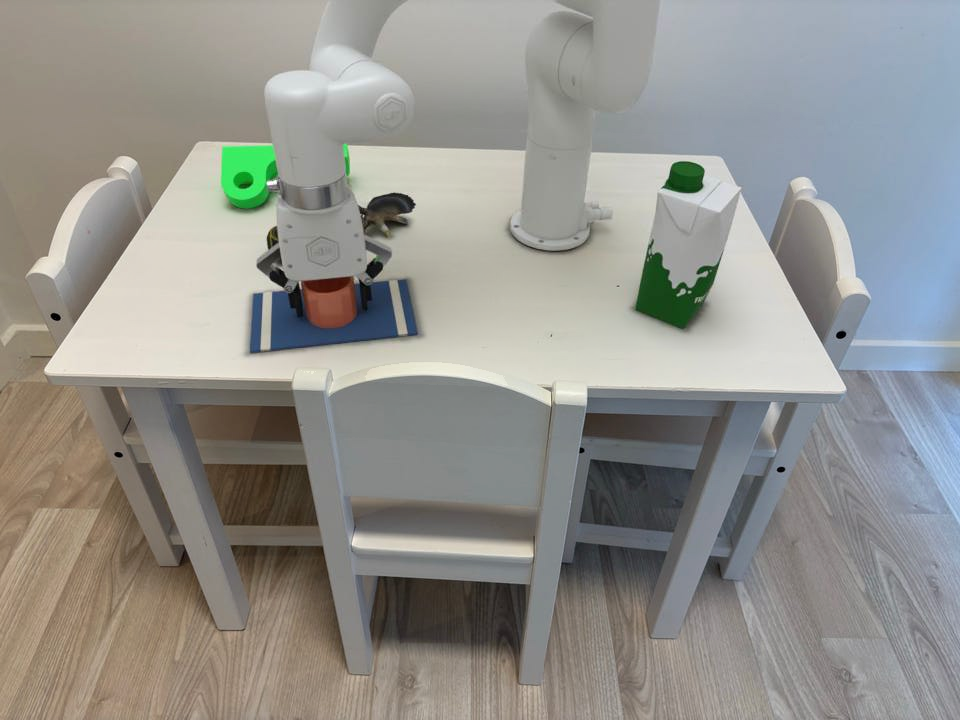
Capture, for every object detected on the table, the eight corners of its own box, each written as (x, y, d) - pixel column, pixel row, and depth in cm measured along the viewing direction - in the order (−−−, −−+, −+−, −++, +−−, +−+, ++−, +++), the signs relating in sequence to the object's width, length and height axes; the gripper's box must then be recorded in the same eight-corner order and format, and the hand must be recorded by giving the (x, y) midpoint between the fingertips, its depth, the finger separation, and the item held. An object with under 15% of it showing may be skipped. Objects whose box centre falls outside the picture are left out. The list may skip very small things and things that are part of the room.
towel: (406, 281, 98) (406, 278, 98) (417, 334, 89) (417, 332, 89) (253, 295, 94) (253, 293, 94) (250, 353, 86) (249, 350, 85)
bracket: (232, 222, 115) (219, 200, 108) (234, 171, 118) (221, 146, 111) (353, 218, 117) (348, 196, 110) (351, 168, 120) (346, 143, 113)
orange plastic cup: (355, 295, 94) (351, 261, 91) (359, 326, 90) (355, 292, 86) (306, 300, 93) (300, 266, 90) (307, 331, 88) (301, 297, 85)
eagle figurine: (379, 247, 102) (425, 217, 105) (353, 203, 100) (401, 174, 103) (360, 250, 108) (404, 222, 112) (336, 209, 106) (382, 182, 109)
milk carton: (652, 280, 99) (683, 150, 86) (712, 303, 96) (754, 171, 82) (625, 310, 94) (654, 176, 81) (688, 336, 90) (729, 200, 77)
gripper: (234, 209, 75) (263, 332, 87) (393, 197, 78) (401, 318, 90) (237, 176, 80) (265, 297, 92) (386, 166, 83) (395, 284, 95)
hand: (332, 306), depth 91 cm, fingers open, 7 cm apart
